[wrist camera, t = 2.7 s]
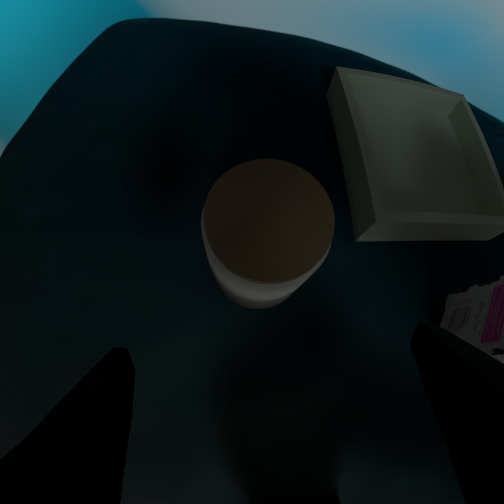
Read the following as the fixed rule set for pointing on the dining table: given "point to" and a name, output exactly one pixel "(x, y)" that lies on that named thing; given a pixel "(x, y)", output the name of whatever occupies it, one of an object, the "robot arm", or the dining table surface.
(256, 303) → the jar
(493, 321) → the candy box
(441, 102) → the bin
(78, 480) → the robot arm
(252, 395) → the dining table surface
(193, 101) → the dining table surface
